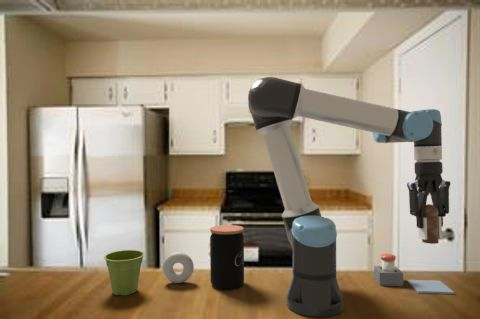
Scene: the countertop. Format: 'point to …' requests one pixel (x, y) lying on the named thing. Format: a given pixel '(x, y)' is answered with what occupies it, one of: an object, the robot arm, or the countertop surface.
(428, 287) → the tile
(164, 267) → the donut
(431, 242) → the brown domed cylinder
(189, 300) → the countertop surface
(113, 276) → the plant pot
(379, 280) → the button collar
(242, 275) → the coffee jar
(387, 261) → the button plunger
